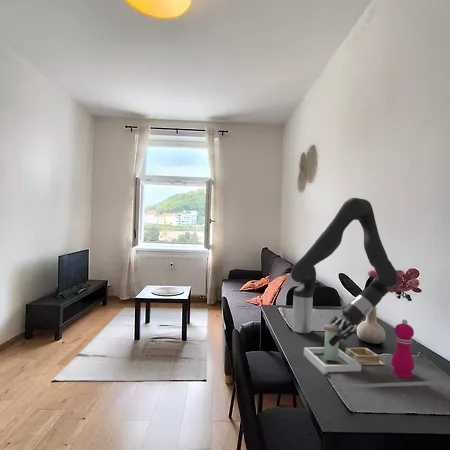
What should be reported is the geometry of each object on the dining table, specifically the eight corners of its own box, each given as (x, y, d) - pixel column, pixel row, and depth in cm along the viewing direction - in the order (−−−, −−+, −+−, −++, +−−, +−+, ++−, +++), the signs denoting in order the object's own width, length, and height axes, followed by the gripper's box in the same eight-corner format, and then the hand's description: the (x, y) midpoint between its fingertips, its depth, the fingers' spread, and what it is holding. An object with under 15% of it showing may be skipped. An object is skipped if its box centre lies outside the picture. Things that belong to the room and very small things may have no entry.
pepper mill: (401, 381, 117) (404, 322, 117) (386, 372, 124) (388, 317, 124) (418, 380, 119) (421, 322, 119) (402, 371, 126) (405, 316, 126)
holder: (339, 355, 139) (340, 346, 139) (366, 354, 141) (367, 346, 141) (355, 367, 127) (356, 358, 127) (385, 366, 129) (385, 357, 129)
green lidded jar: (319, 355, 132) (321, 323, 132) (334, 354, 133) (335, 323, 133) (327, 361, 126) (328, 328, 126) (342, 360, 128) (343, 328, 128)
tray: (303, 355, 138) (303, 347, 138) (336, 354, 140) (336, 347, 140) (324, 374, 120) (324, 366, 120) (361, 373, 122) (361, 365, 122)
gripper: (342, 298, 138) (312, 329, 136) (362, 307, 124) (329, 341, 122) (353, 312, 139) (324, 342, 137) (375, 322, 125) (342, 356, 123)
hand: (327, 341), depth 130 cm, fingers closed on green lidded jar, 5 cm apart
